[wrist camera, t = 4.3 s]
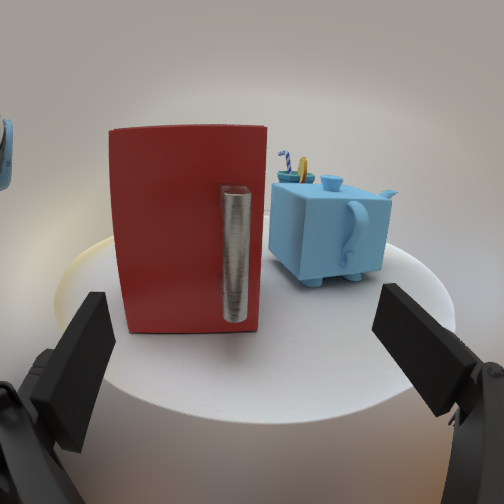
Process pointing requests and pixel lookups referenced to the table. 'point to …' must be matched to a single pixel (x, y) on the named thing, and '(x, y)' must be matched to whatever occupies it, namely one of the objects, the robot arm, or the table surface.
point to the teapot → (328, 229)
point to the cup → (293, 175)
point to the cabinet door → (188, 226)
